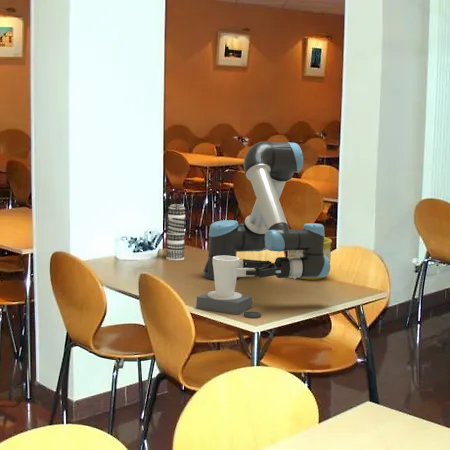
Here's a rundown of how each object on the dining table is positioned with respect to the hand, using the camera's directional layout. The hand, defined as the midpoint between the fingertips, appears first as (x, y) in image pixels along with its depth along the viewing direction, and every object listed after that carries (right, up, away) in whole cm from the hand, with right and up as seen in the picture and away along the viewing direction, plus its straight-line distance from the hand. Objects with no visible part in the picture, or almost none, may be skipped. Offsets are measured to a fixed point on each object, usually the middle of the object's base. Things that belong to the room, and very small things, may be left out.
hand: (230, 268), depth 289 cm
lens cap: (+7, -16, -8) cm, 20 cm away
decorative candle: (-25, 0, +89) cm, 92 cm away
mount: (-2, -14, +2) cm, 14 cm away
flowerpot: (+33, -7, +61) cm, 70 cm away
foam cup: (-2, -9, +1) cm, 10 cm away
